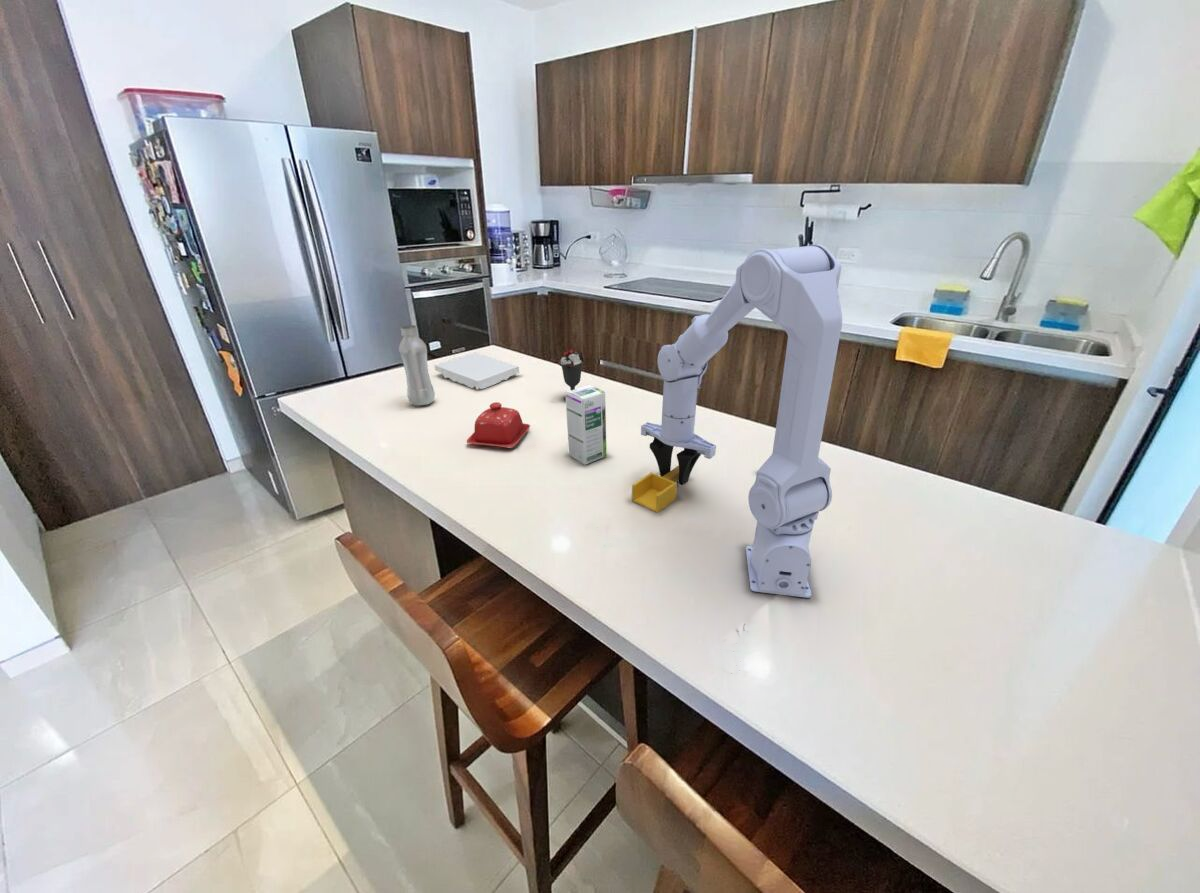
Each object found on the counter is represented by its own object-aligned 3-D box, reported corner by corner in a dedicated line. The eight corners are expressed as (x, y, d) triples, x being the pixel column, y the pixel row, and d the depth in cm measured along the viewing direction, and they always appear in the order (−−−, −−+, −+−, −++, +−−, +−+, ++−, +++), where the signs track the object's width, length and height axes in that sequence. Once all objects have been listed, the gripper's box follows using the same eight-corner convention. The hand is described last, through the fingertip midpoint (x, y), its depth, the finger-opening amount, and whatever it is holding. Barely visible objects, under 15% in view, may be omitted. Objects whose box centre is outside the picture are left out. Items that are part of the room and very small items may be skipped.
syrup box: (585, 466, 100) (583, 398, 93) (567, 455, 104) (564, 390, 97) (607, 457, 103) (606, 391, 96) (589, 446, 107) (587, 383, 100)
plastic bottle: (408, 401, 131) (392, 325, 121) (434, 397, 133) (421, 322, 124) (410, 410, 126) (394, 331, 116) (438, 405, 128) (424, 328, 119)
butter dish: (464, 447, 107) (458, 411, 103) (487, 425, 117) (482, 391, 113) (513, 452, 105) (509, 416, 101) (533, 429, 115) (530, 395, 111)
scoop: (657, 512, 85) (658, 496, 84) (631, 501, 89) (632, 484, 87) (696, 483, 94) (698, 467, 92) (671, 473, 97) (672, 457, 95)
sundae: (556, 402, 129) (553, 345, 122) (565, 393, 135) (563, 338, 128) (580, 405, 127) (578, 347, 120) (588, 395, 133) (587, 340, 126)
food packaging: (519, 377, 147) (476, 362, 158) (518, 366, 146) (475, 352, 157) (479, 392, 137) (436, 375, 148) (478, 381, 136) (434, 365, 146)
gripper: (727, 415, 84) (719, 483, 91) (657, 395, 93) (654, 458, 99) (706, 429, 80) (699, 500, 86) (634, 406, 88) (633, 472, 95)
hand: (674, 479), depth 92 cm, fingers open, 3 cm apart
